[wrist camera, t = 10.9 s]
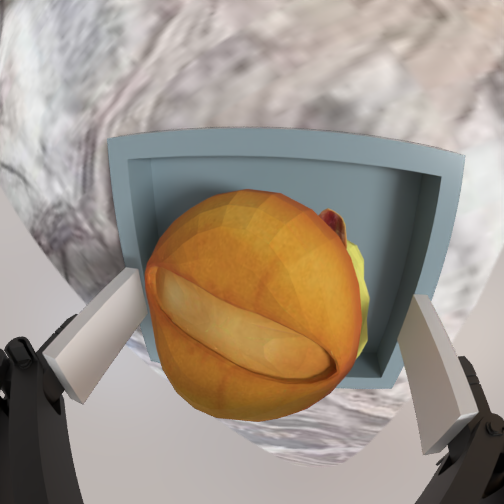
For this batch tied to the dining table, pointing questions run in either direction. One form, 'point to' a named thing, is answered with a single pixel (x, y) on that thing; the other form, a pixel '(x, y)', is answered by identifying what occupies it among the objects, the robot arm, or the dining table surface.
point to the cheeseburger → (256, 305)
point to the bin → (312, 196)
